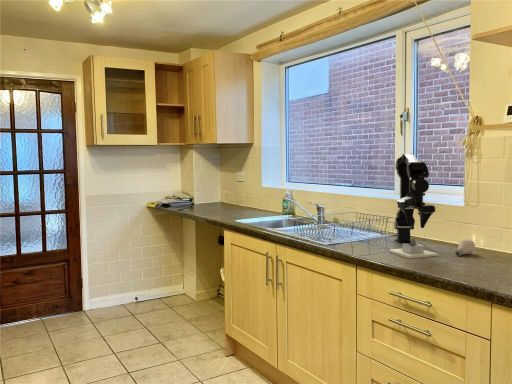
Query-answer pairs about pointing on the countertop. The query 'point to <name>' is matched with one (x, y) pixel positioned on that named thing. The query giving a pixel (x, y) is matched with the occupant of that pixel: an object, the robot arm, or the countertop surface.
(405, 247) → the link
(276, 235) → the countertop surface
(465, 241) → the light bulb
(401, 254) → the plate
